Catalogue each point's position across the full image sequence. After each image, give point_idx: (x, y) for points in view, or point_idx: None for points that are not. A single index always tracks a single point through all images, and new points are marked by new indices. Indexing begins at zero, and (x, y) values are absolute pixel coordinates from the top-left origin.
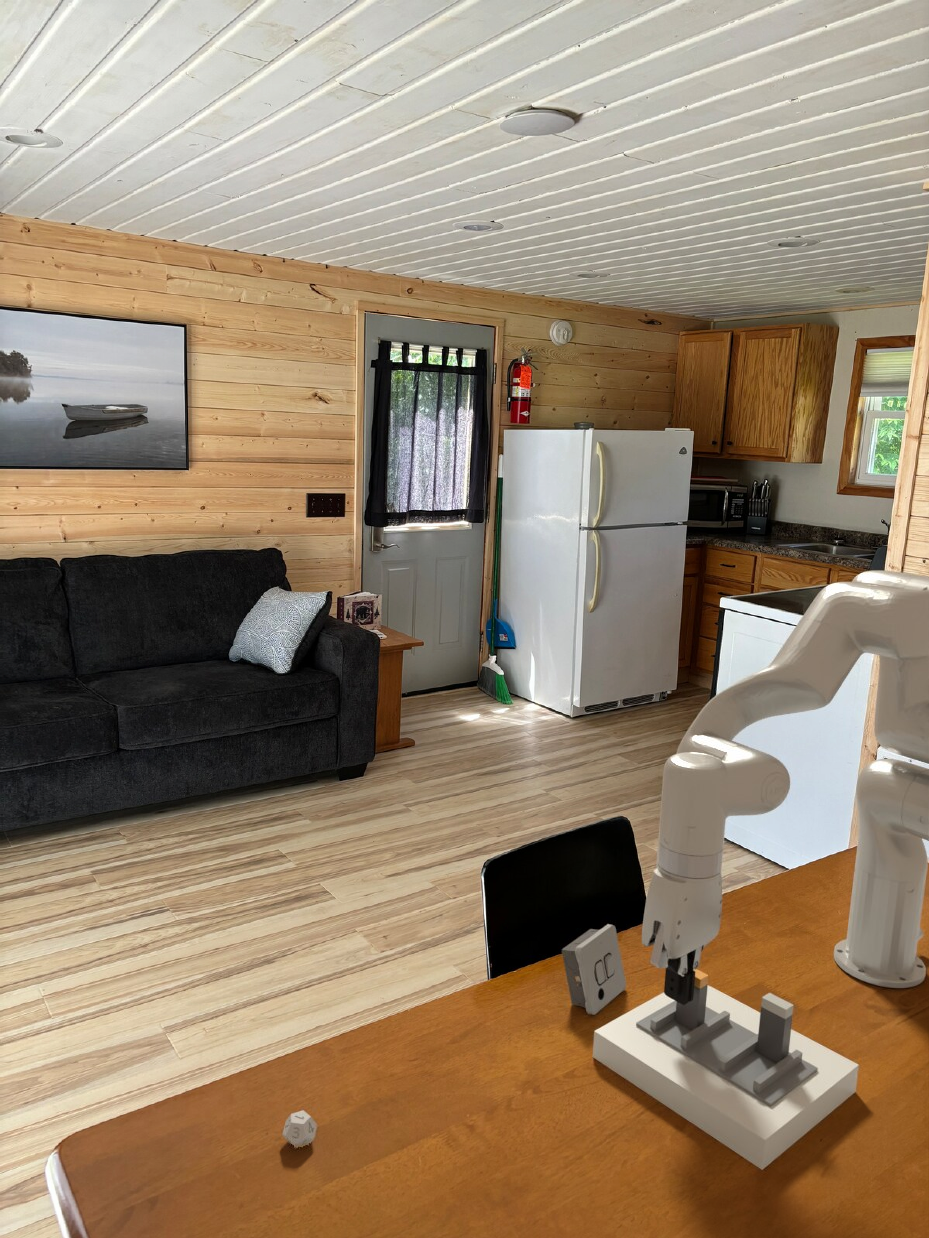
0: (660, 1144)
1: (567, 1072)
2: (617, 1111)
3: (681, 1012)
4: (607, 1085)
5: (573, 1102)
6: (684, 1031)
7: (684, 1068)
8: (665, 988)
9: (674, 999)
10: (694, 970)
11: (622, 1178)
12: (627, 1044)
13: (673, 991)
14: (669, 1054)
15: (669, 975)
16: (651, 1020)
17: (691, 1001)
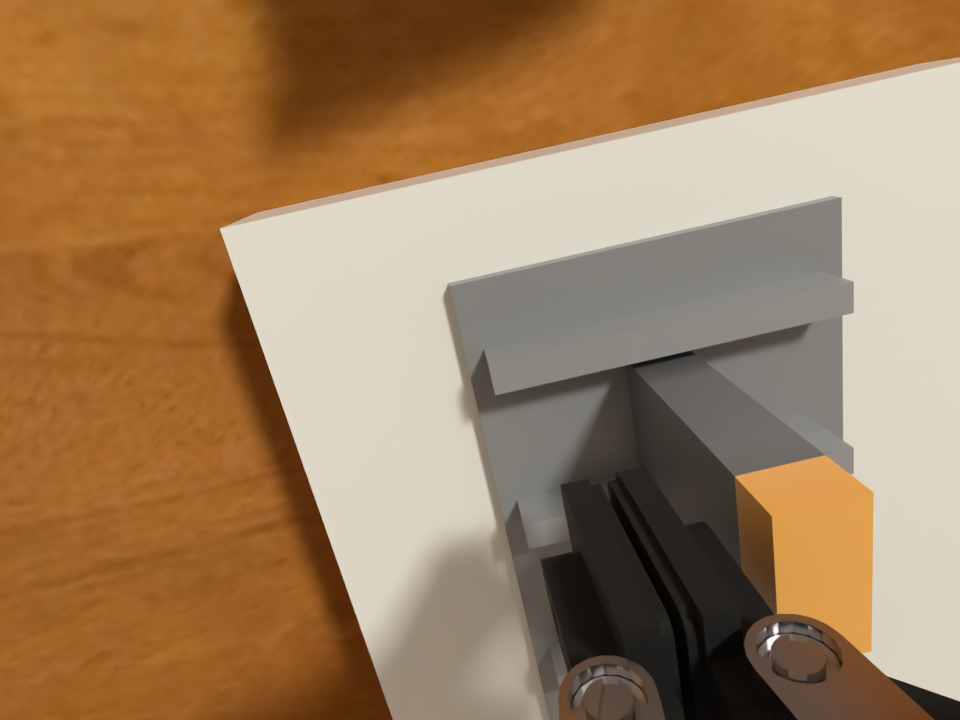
0: (243, 641)
1: (103, 250)
2: (189, 494)
3: (649, 412)
4: (225, 378)
5: (51, 403)
6: (607, 430)
7: (447, 582)
8: (569, 510)
9: (572, 548)
10: (842, 576)
11: (63, 697)
12: (320, 382)
13: (555, 619)
14: (451, 500)
15: (570, 669)
16: (489, 367)
17: (690, 508)
